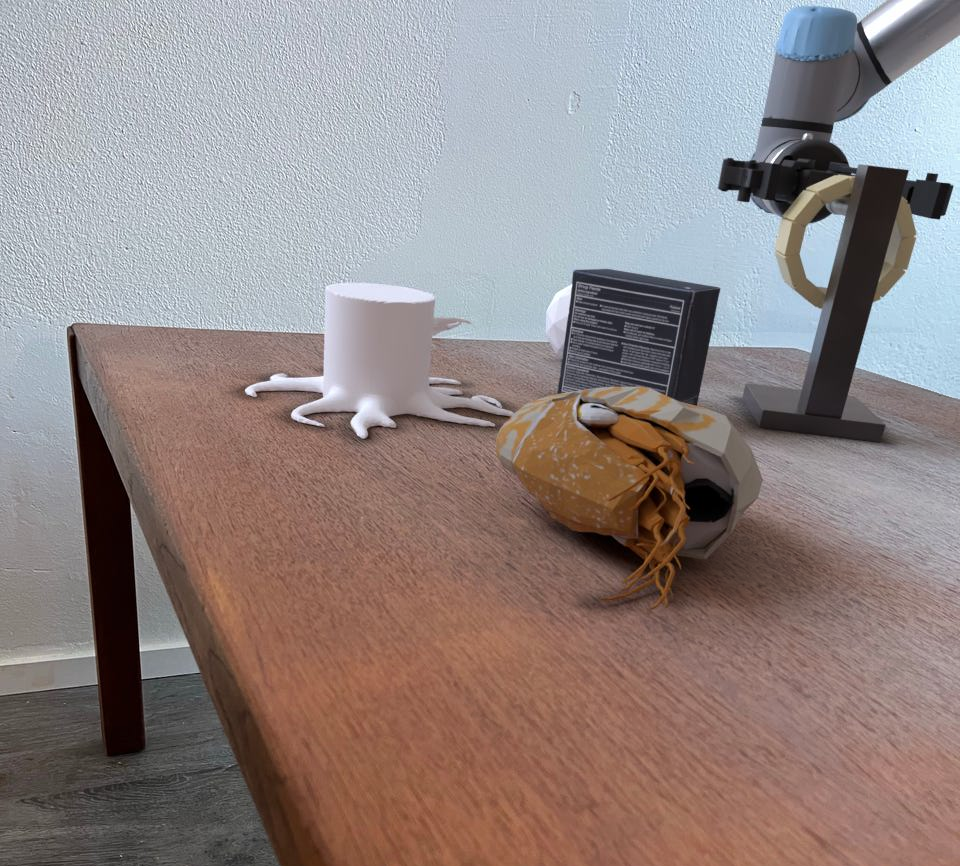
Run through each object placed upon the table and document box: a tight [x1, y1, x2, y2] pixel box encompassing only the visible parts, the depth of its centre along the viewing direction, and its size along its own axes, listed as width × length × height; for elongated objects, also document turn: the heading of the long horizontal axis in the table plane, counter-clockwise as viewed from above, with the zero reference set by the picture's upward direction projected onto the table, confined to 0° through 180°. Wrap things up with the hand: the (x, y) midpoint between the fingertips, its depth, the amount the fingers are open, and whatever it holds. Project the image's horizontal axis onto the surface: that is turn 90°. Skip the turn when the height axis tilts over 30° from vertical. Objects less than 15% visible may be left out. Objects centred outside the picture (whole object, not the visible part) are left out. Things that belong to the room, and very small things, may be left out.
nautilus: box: [494, 387, 764, 611], centre depth 53 cm, size 8×22×15 cm
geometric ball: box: [544, 283, 572, 358], centre depth 96 cm, size 8×8×8 cm
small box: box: [556, 268, 722, 406], centre depth 80 cm, size 11×6×10 cm, turn 58°
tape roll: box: [773, 175, 917, 310], centre depth 82 cm, size 10×5×10 cm, turn 85°
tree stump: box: [244, 282, 515, 440], centre depth 75 cm, size 20×19×8 cm
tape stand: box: [741, 163, 910, 443], centre depth 83 cm, size 10×14×20 cm
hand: (856, 191), depth 80 cm, fingers open, 13 cm apart
